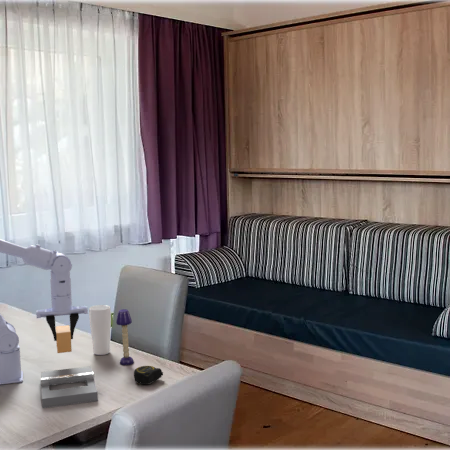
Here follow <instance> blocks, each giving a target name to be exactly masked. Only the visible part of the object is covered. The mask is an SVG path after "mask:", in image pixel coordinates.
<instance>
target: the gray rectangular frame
mask: <svg viewBox="0 0 450 450" xmlns="http://www.w3.org/2000/svg"><path fill="white" fill-rule="evenodd" d="M87 372H93V369H92V366H91V365H90V366H89V365H88V366H81V367H71V368H63V369H55V370H46V371H40V379H41V378H45V377H53V376H62V375H70V374H78V373H87ZM84 382H85V386H84V385H83V386H75V387H67V388H59V389H58V388H57V389H52V390H51V389H50V387H52V386H58V385H66V384H73V383H76V384H77V383H84ZM40 389H41V406H42V409H46V408H55V407H63V406H70V405H71V406H72V405H77V404H83V403H84V404H85V403H92V402H93V403H94V402H98V401H99V393H98V389H97V384H96V381H95V378H94V379H93V380H84V381H76V382H68V383H60V384H52V385H43V386H41V388H40Z"/></svg>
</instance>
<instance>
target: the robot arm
mask: <svg viewBox="0 0 450 450" xmlns="http://www.w3.org/2000/svg"><path fill="white" fill-rule="evenodd" d="M0 253H1V254H4V255H5V254H6V255H9V256H13V257H17V258H20V259H22V260H23V263H24V264H25V265H27V266H28V265H29V266H32V267H33V268H34V267H35V268H38V269H42V270H43V271H44V270H45V271H50V297H51V300H50V301H51V307H49V308H43V309H36V312H35V313H36V314H35V315H36V319H41V318H45V320H46V323H47V324H48V326H49V328H50V330H51V333H52V335H53V341H54V342H56V341H57V337H56V317H58V316H59V317H60V316H69V326H70V331H71V340H73V339H74V333H75V329H76V325H77V323H78V322H79V321H78V320H79V317H80V315H82V314H83V315H88V314H89V311H88V310H89V309H88V306H87V305H79V306H78V305H76V306H75V305H73V304H72V303H73V302H72V301H73V299H72V281H71V270H72V268H73V264H72V262H71V259H70V258H69V257H68V256H66V254H64V253H62V252H60V251H57V250H55V249H52V250H50V249H47V248H43V247H41V244H37V243H36V244H35V245H33V244H30V245H28V246H26V247H25V246H22V245H19V244H17V243H13V242H9V241H7V240H4V239H1V238H0ZM19 343H20V339H19V334H17V331H16V328H15V326H14V325H13V324H12V323H9V322H8V321H7V320H6V319H5V317H4V316H3V314H1V313H0V385H8V384H13V383H14V384H16V383H22V382H23V381H24V371H23V370H22V365H21V348H20V345H19Z"/></svg>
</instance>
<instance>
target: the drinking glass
mask: <svg viewBox="0 0 450 450" xmlns="http://www.w3.org/2000/svg"><path fill="white" fill-rule="evenodd" d="M88 310H89V311H88V314H89V315H88V318H89V326H90V333H91V334H90V335H91V343H92V352H93V354H94V355H97V356H104V355H108V354H109V353H111V328H112V311H111V306H110V305H107V304H96V305H91V306H90V307H89V308H88Z"/></svg>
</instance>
